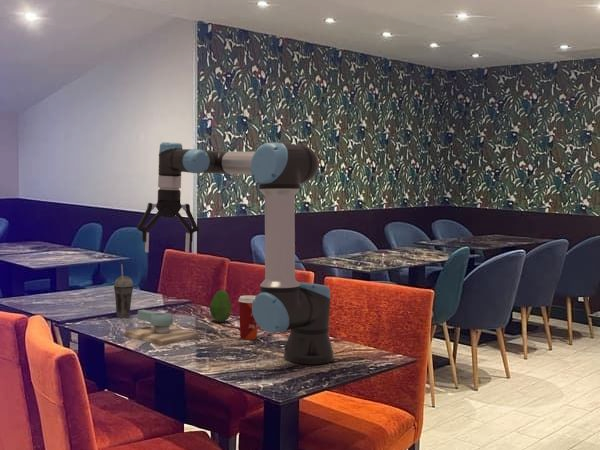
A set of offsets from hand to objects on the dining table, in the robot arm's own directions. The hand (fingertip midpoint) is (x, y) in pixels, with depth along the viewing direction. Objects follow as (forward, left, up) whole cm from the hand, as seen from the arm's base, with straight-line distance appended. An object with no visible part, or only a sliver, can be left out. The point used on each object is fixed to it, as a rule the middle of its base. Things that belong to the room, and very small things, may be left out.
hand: (167, 252), depth 233 cm
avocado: (+1, -28, -28) cm, 40 cm away
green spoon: (+2, +3, -24) cm, 24 cm away
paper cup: (-23, -17, -28) cm, 40 cm away
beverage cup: (+31, -7, -28) cm, 43 cm away
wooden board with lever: (-2, +3, -28) cm, 28 cm away
